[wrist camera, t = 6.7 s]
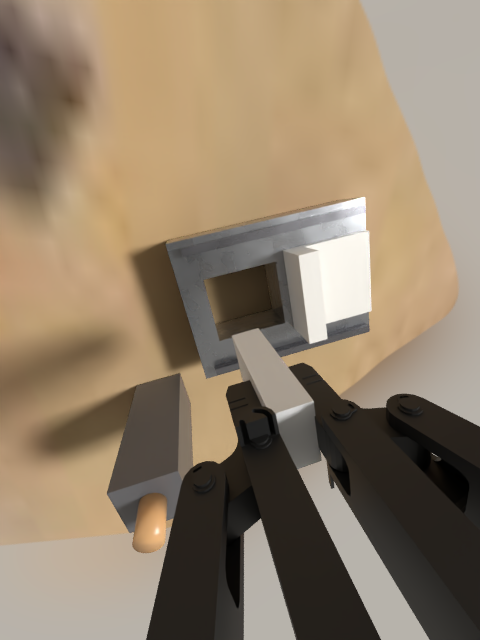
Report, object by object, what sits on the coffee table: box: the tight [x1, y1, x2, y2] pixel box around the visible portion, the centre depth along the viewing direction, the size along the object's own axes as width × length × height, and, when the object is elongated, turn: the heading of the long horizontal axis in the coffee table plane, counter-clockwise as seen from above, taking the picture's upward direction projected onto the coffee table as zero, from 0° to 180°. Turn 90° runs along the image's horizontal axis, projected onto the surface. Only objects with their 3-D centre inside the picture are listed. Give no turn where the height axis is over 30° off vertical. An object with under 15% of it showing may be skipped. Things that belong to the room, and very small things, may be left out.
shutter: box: [283, 230, 371, 344], centre depth 22 cm, size 7×7×3 cm
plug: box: [107, 373, 193, 553], centre depth 23 cm, size 4×4×14 cm
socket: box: [165, 197, 369, 379], centre depth 25 cm, size 16×12×5 cm
